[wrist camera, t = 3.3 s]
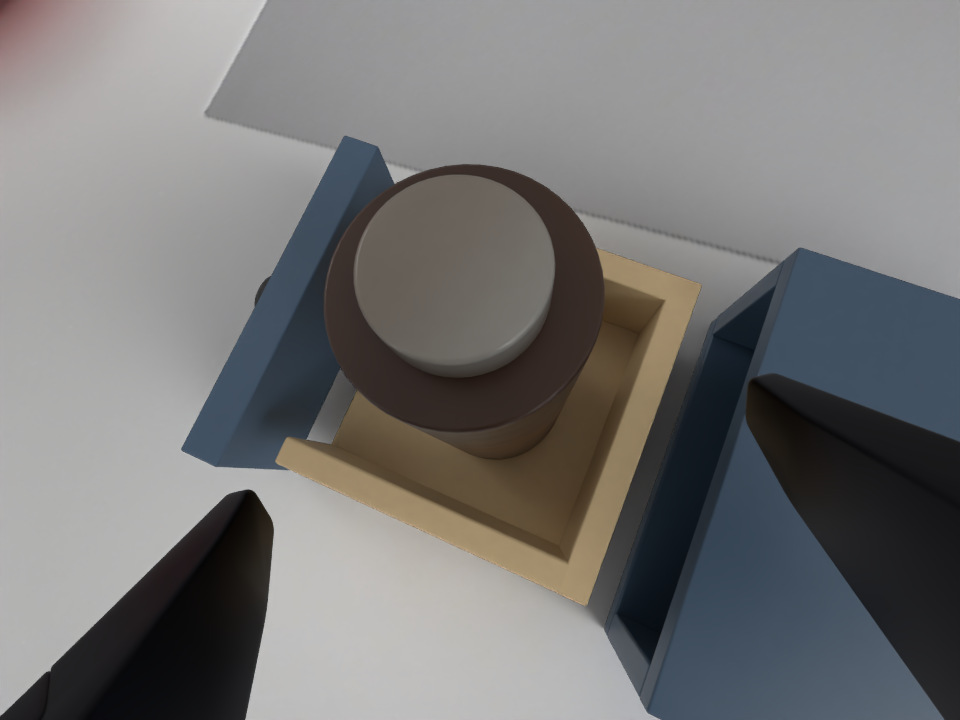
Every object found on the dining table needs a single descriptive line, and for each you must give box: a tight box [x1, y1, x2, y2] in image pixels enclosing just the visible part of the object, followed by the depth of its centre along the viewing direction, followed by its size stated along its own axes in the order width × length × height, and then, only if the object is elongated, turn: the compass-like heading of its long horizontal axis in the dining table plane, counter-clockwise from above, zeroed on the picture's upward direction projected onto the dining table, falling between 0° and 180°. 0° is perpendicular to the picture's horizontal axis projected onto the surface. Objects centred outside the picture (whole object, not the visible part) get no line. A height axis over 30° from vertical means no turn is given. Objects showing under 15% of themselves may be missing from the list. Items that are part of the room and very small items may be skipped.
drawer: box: [181, 136, 702, 606], centre depth 17 cm, size 13×10×5 cm
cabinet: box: [604, 248, 960, 720], centre depth 15 cm, size 13×12×7 cm
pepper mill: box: [324, 164, 605, 460], centre depth 13 cm, size 4×4×11 cm
